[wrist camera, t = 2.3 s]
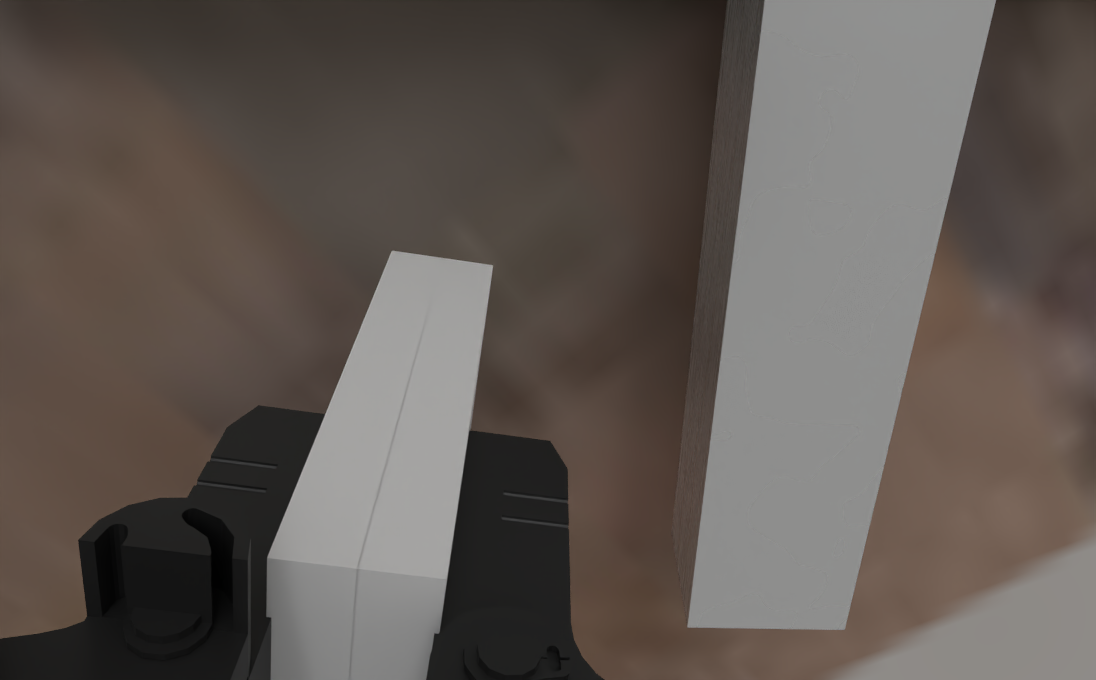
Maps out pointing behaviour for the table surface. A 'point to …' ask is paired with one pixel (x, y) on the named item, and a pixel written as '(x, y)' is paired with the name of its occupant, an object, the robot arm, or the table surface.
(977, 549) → the table surface
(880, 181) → the bar
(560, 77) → the table surface
